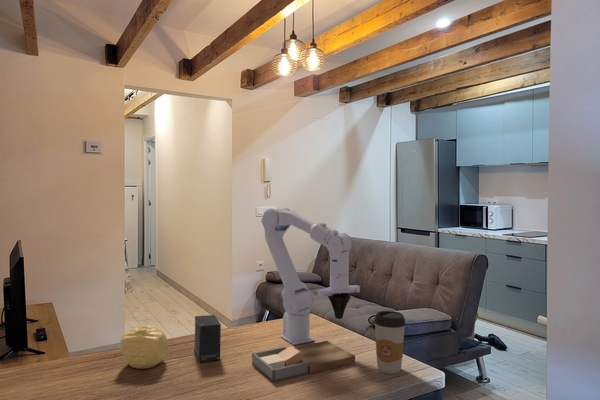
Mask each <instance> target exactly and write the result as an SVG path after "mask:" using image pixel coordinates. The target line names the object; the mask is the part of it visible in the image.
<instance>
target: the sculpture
mask: <svg viewBox="0 0 600 400" xmlns="http://www.w3.org/2000/svg"><path fill="white" fill-rule="evenodd" d="M167 351H168V339H167V336H166V334H165V332H164V331H163V330H162V329H161V328H159V327H157V326H153V325H143V326H142V325H141V326H140V325H137V326H135V327H134V328H132V329H129V331H126V332H124V333H122V336H121V340H120V354H121V355H122V357H123V358H124V360H125V362H126V363H127V364H128V366H130V367H131V368H133V369H138V370H139V369H141V370H143V369H144V370H145V369H150V368H153V367H156V366H157V365H159V364H160V363H161V362H163V360H164V359H165V357H166V355H167Z"/></svg>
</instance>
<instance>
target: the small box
mask: <svg viewBox="0 0 600 400" xmlns="http://www.w3.org/2000/svg"><path fill="white" fill-rule="evenodd" d="M221 327H222V325H221V323H220V321H219V320H218V318H217V317H216V314H211V315H210V314H209V315H207V314H206V315H195V316H194V347H193V348H194V349H193V350H194V354H195V357H196V359H197V362H198V363H205V362H206V363H207V362H213V361H220V360H221V337H222V336H221V331H222V329H221Z"/></svg>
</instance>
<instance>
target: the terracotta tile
mask: <svg viewBox="0 0 600 400" xmlns="http://www.w3.org/2000/svg"><path fill="white" fill-rule="evenodd" d="M294 347H295V346H292V345H290V346H289V347H286V349H285V350H283V351H282V352H280V353H278V354H277V355H278V356H279V357H281V358H282V359H284V360H285V367H286V366H290V365H294V364H296V363H298V362H300V361H301V360H303V359H302V356H301V353H300V351H298V350H297V349H295V348H294Z"/></svg>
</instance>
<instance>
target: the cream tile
mask: <svg viewBox="0 0 600 400" xmlns="http://www.w3.org/2000/svg"><path fill="white" fill-rule="evenodd" d="M260 358H261V359H262V360H264V361H265V362H266V363H267V364H268V365H270V366H271V367H272V368H273V369H277V368H281V367H285V360H284V359H282V358H281V357H279V356H278V355H277V354H274V355H269V356H265V357H260Z"/></svg>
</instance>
